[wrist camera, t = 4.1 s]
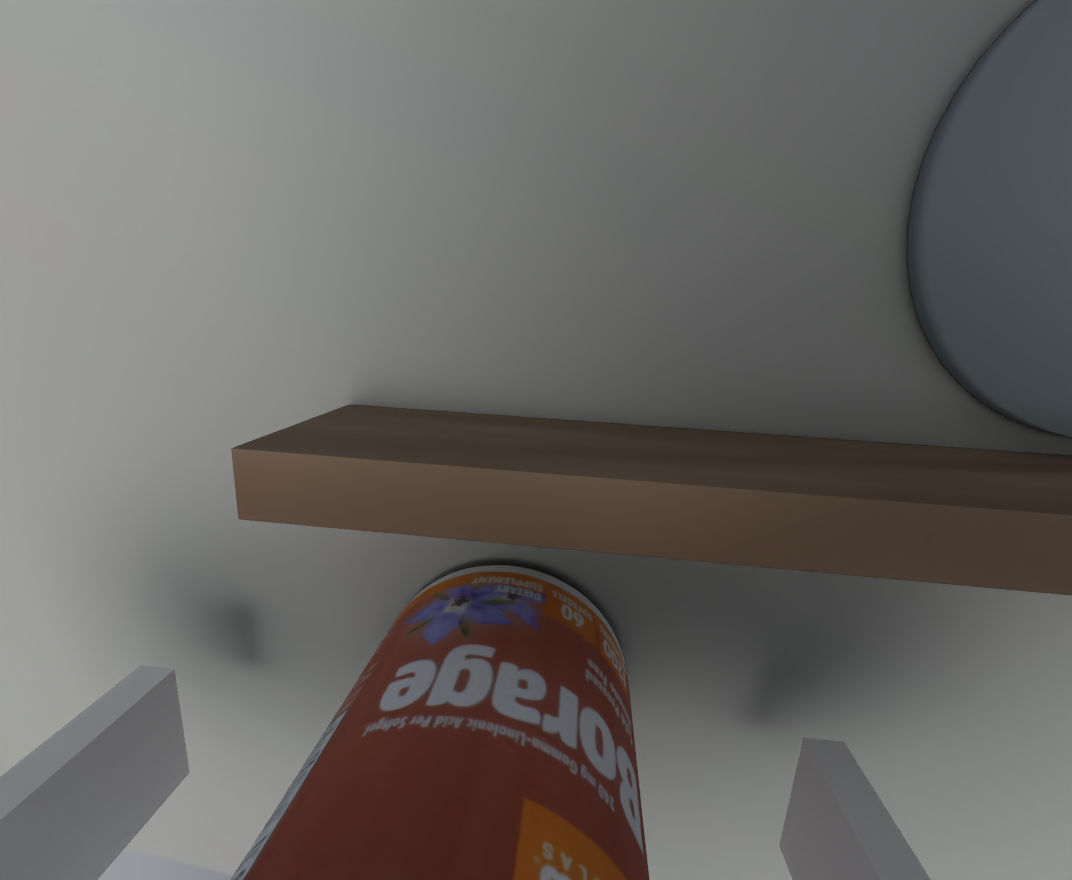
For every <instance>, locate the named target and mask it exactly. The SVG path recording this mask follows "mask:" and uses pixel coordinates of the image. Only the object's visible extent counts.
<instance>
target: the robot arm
mask: <svg viewBox="0 0 1072 880" xmlns="http://www.w3.org/2000/svg"><path fill="white" fill-rule="evenodd" d="M188 774H189V766H188V759H187V753H186V746H185V739H184V732H183V725H182V718H181V711H180V704H179V698H178V691H177V684H176V677H175V670H174V669H167V668H158V667H149V666H140V667H139V668H137V669H136V670H135V671H134V672H132V673H131V674H130V675H128V676H127V677H126V678H125V679H123V680H122V681H121V682H120V683H118V684H117V685H116V686H115V687H113V688H112V689H111V690H110V691H108V692H107V693H106V694H104V695H103V696H102V697H101V698H99V699H98V700H97V701H96V702H94V703H93V704H92V705H91V706H89V707H88V708H87V709H86V710H84V711H83V712H82V713H80V714H79V715H78V716H77V717H75V718H74V719H73V720H72V721H70V722H69V723H68V724H67V725H65V726H64V727H63V728H62V729H60V730H59V731H58V732H57V733H55V734H54V735H53V736H51V737H50V738H49V739H48V740H46V741H45V742H44V743H43V744H41V745H40V746H39V747H38V748H36V749H35V750H34V751H33V752H31V753H30V754H29V755H27V756H26V757H25V758H24V759H22V760H21V761H20V762H19V763H17V764H16V765H15V766H14V767H12V768H11V769H10V770H9V771H7V772H6V773H5V774H4V775H2V776H1V777H0V880H97V879H98V878H99V877H100V876H101V875H102V874H103V873H104V871H105V870H106V869H107V868H108V867H109V866H110V864H111V863H112V862H113V861H114V860H115V859H116V857H117V856H118V855H119V854H120V853H121V852H122V850H123V849H124V848H125V847H126V846H127V845H128V843H129V842H130V841H131V840H132V839H133V838H134V836H135V835H136V834H137V833H138V832H139V831H140V829H141V828H142V827H143V826H144V825H145V824H146V823H147V821H148V820H149V819H150V818H151V817H152V816H153V814H154V813H155V812H156V811H157V810H158V809H159V807H160V806H161V805H162V804H163V803H164V802H165V800H166V799H167V798H168V797H169V796H170V795H171V793H172V792H173V791H174V790H175V789H176V788H177V786H178V785H179V784H180V783H181V782H182V781H183V779H184V778H185V777H186V776H187V775H188ZM780 848H781V850H782V853H783V856H784V858H785V861H786V863H787V866H788V869H789V871H790V874H791V877H792V879H793V880H930V878H929V877H928V875H927V873H926V872H925V870H924V869H923V867H922V865H921V864H920V862H919V861H918V859H917V858H916V856H915V854H914V853H913V851H912V850H911V848H910V846H909V845H908V843H907V842H906V840H905V838H904V837H903V835H902V834H901V832H900V830H899V829H898V827H897V826H896V824H895V822H894V821H893V819H892V818H891V816H890V815H889V813H888V811H887V810H886V808H885V807H884V805H883V803H882V802H881V800H880V799H879V797H878V795H877V794H876V792H875V791H874V789H873V787H872V786H871V784H870V783H869V781H868V780H867V778H866V776H865V775H864V773H863V772H862V770H861V768H860V767H859V765H858V764H857V762H856V760H855V759H854V757H853V756H852V754H851V752H850V751H849V749H848V748H847V746H846V744H845V743H844V742H838V741H829V740H820V739H811V738H804V739H803V743H802V748H801V752H800V756H799V761H798V765H797V770H796V774H795V779H794V783H793V788H792V792H791V797H790V801H789V806H788V810H787V814H786V819H785V823H784V828H783V832H782V837H781V841H780Z"/></svg>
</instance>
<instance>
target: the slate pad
mask: <svg viewBox="0 0 1072 880" xmlns="http://www.w3.org/2000/svg"><path fill="white" fill-rule="evenodd" d="M907 263H908V272H909V281H910V290H911V293H912V297H913V301H914V305H915V309H916V312H917V316H918V319H919V321H920V323H921V326H922V328H923V330H924V333H925V335H926V337H927V340H928V342H929V344H930V345H931V347H932V348H933V350H934V351H935V353H936V355H937V356H938V358H939V359H940V361H941V362H942V364H943V366H944V367H945V368H946V369H947V370H948V371H949V372H950V373H951V375H952V376H953V377H954V378H955V379H956V380H957V381H958V382H959V384H960V385H961V386H962V387H964V388H965V389H966V390H967V391H969V392H970V393H971V394H972V395H973V396H975V397H976V398H977V399H978V400H979V401H981V402H982V403H984V404H985V405H987V406H989V407H990V408H992V409H994V410H995V411H997V412H999V413H1000V414H1002V415H1004V416H1005V417H1008V418H1010V419H1013V420H1015V421H1018V422H1020V423H1022V424H1025V425H1027V426H1030V427H1033V428H1036V429H1040V430H1044V431H1048V432H1052V433H1055V434H1059V435H1063V436H1067V437H1071V438H1072V0H1035V1H1034V2H1033V3H1032V4H1031V5H1030V6H1029V7H1028V8H1027V9H1026V10H1025V11H1024V12H1023V13H1022V14H1021V15H1019V16H1018V17H1017V18H1016V19H1015V20H1014V21H1013V22H1012V23H1011V24H1010V25H1009V26H1008V27H1007V28H1006V29H1005V30H1004V31H1003V32H1002V33H1001V35H1000V36H999V37H998V38H997V39H996V40H995V42H994V43H993V44H992V45H991V46H990V47H989V49H988V50H987V51H986V52H985V53H984V54H983V56H982V57H981V58H980V59H979V60H978V62H977V63H976V65H975V66H974V67H973V69H972V70H971V72H970V73H969V75H968V76H967V77H966V79H965V80H964V82H963V83H962V85H961V86H960V88H959V89H958V90H957V92H956V93H955V95H954V97H953V99H952V101H951V102H950V104H949V106H948V108H947V110H946V112H945V113H944V115H943V117H942V119H941V121H940V122H939V124H938V126H937V128H936V130H935V133H934V135H933V138H932V140H931V143H930V145H929V147H928V150H927V152H926V155H925V157H924V159H923V162H922V166H921V169H920V173H919V176H918V180H917V183H916V187H915V190H914V194H913V199H912V205H911V211H910V218H909V224H908V244H907Z"/></svg>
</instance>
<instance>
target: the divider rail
mask: <svg viewBox="0 0 1072 880" xmlns="http://www.w3.org/2000/svg"><path fill="white" fill-rule="evenodd" d="M231 450H232V459H233V469H234V479H235V488H236V498H237V508H238V517H239V519H242V520H252V521H263V522H274V523H285V524H296V525H307V526H318V527H329V528H340V529H351V530H362V531H373V532H384V533H395V534H406V535H417V536H428V537H439V538H449V539H460V540H471V541H482V542H493V543H504V544H515V545H526V546H537V547H548V548H559V549H570V550H581V551H592V552H603V553H614V554H625V555H635V556H646V557H657V558H668V559H679V560H690V561H701V562H712V563H723V564H734V565H745V566H756V567H767V568H778V569H789V570H800V571H811V572H821V573H832V574H843V575H854V576H865V577H876V578H887V579H898V580H909V581H920V582H931V583H942V584H953V585H964V586H975V587H986V588H997V589H1008V590H1018V591H1029V592H1040V593H1051V594H1062V595H1072V456H1065V455H1051V454H1037V453H1023V452H1009V451H995V450H980V449H966V448H952V447H938V446H924V445H910V444H896V443H882V442H867V441H853V440H839V439H825V438H811V437H797V436H783V435H768V434H754V433H740V432H726V431H712V430H698V429H684V428H670V427H655V426H641V425H627V424H613V423H599V422H585V421H571V420H557V419H542V418H528V417H514V416H500V415H486V414H472V413H458V412H443V411H429V410H415V409H401V408H387V407H373V406H359V405H347V406H344V407H341V408H339V409H336V410H333V411H331V412H328V413H325V414H323V415H320V416H317V417H315V418H312V419H309V420H306V421H304V422H301V423H298V424H296V425H293V426H290V427H288V428H285V429H282V430H280V431H277V432H274V433H272V434H269V435H266V436H263V437H261V438H258V439H255V440H253V441H250V442H247V443H245V444H242V445H239V446H237V447H234V448H231Z"/></svg>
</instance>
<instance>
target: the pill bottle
mask: <svg viewBox="0 0 1072 880" xmlns="http://www.w3.org/2000/svg"><path fill="white" fill-rule="evenodd" d="M231 880H649V873H648V864H647V854H646V845H645V836H644V827H643V818H642V809H641V799H640V789H639V779H638V770H637V761H636V752H635V742H634V733H633V723H632V713H631V703H630V694H629V685H628V678H627V672H626V666H625V661H624V657H623V653H622V650H621V647H620V645H619V642H618V640H617V638H616V636H615V634H614V632H613V630H612V628H611V627H610V625H609V624H608V622H607V621H606V619H605V618H604V616H603V615H602V614H601V612H600V611H599V610H598V609H597V608H596V607H595V606H594V605H593V604H592V603H591V602H590V601H589V600H588V599H587V598H586V597H585V596H584V595H582V594H581V593H580V592H578V591H577V590H575V589H574V588H572V587H571V586H569V585H568V584H566V583H564V582H562V581H560V580H558V579H556V578H554V577H552V576H550V575H547V574H544V573H541V572H539V571H536V570H532V569H528V568H523V567H516V566H506V565H490V566H478V567H472V568H467V569H463V570H460V571H457V572H454V573H451V574H449V575H447V576H444V577H443V578H441V579H439V580H437V581H435V582H433V583H432V584H430V585H429V586H427V587H426V588H425V589H423V590H422V591H421V592H419V593H418V594H417V595H416V596H415V597H414V598H413V599H412V600H411V601H410V603H409V604H408V605H407V606H406V607H405V608H404V610H403V611H402V613H401V614H400V615H399V617H398V618H397V620H396V621H395V623H394V624H393V626H392V627H391V628H390V630H389V632H388V633H387V635H386V637H385V638H384V640H383V641H382V643H381V644H380V646H379V647H378V649H377V651H376V652H375V654H374V655H373V657H372V659H371V660H370V662H369V663H368V665H367V666H366V668H365V670H364V671H363V673H362V674H361V676H360V677H359V679H358V681H357V682H356V684H355V685H354V687H353V688H352V690H351V692H350V693H349V695H348V696H347V698H346V699H345V701H344V703H343V704H342V706H341V707H340V709H339V710H338V712H337V713H336V715H335V716H334V718H333V720H332V721H331V723H330V725H329V726H328V728H327V729H326V731H325V732H324V734H323V735H322V737H321V738H320V740H319V742H318V743H317V745H316V747H315V748H314V750H313V751H312V753H311V754H310V756H309V757H308V759H307V760H306V762H305V764H304V765H303V767H302V769H301V770H300V772H299V773H298V775H297V776H296V778H295V780H294V781H293V783H292V784H291V786H290V787H289V789H288V790H287V792H286V794H285V795H284V797H283V799H282V800H281V802H280V803H279V805H278V807H277V808H276V810H275V811H274V813H273V814H272V816H271V818H270V819H269V821H268V822H267V824H266V825H265V827H264V829H263V830H262V832H261V833H260V835H259V836H258V838H257V840H256V841H255V843H254V844H253V846H252V847H251V849H250V850H249V852H248V853H247V855H246V857H245V858H244V860H243V861H242V863H241V864H240V866H239V867H238V869H237V870H236V872H235V874H234V875H233V877H232V878H231Z"/></svg>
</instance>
